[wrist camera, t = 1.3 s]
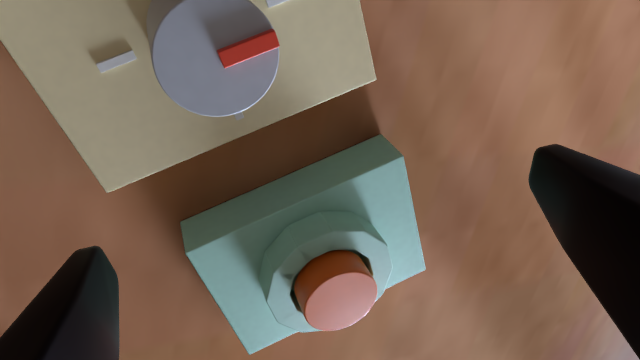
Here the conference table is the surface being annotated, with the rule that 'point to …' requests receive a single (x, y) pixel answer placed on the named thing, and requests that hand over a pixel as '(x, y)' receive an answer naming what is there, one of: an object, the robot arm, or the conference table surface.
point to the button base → (304, 237)
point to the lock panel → (144, 89)
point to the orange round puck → (335, 290)
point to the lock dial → (212, 53)
